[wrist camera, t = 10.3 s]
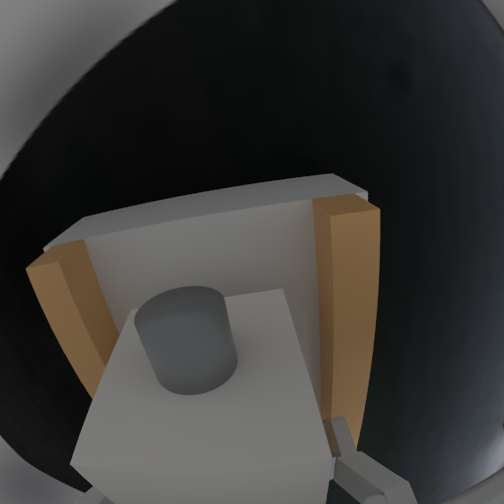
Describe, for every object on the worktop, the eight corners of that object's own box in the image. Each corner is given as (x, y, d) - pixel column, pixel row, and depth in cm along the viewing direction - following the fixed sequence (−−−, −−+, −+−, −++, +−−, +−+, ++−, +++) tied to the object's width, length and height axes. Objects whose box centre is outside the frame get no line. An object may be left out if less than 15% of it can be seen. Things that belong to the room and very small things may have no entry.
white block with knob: (297, 450, 14) (316, 550, 8) (202, 461, 14) (200, 559, 8) (277, 240, 9) (337, 402, 4) (116, 265, 9) (25, 414, 4)
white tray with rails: (332, 173, 14) (394, 206, 8) (336, 388, 19) (361, 459, 14) (83, 217, 14) (15, 270, 8) (162, 411, 19) (151, 483, 14)
